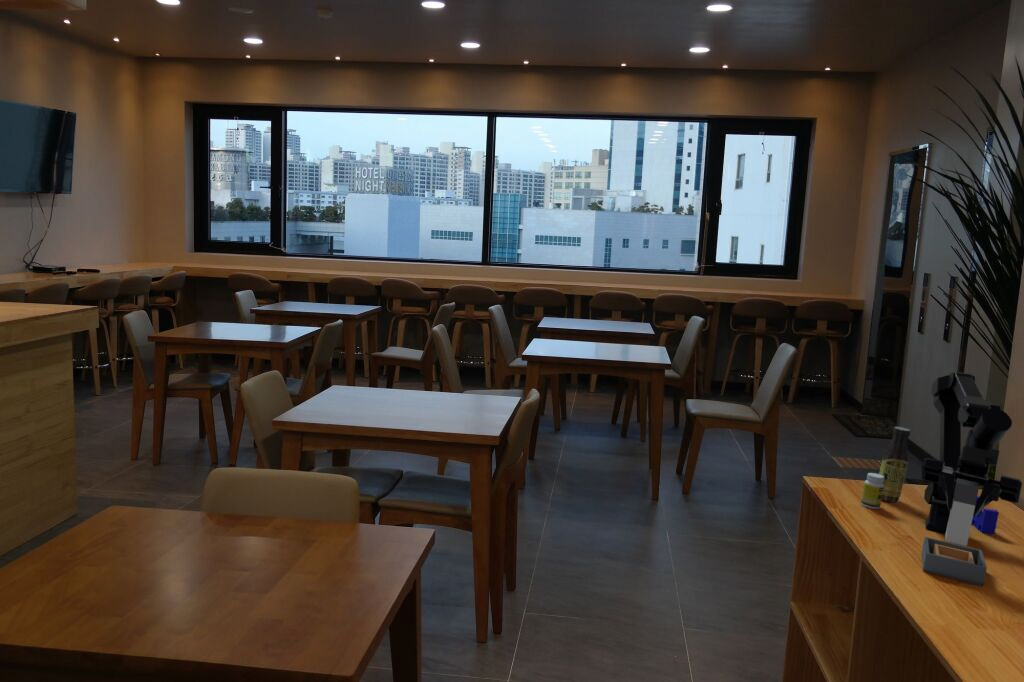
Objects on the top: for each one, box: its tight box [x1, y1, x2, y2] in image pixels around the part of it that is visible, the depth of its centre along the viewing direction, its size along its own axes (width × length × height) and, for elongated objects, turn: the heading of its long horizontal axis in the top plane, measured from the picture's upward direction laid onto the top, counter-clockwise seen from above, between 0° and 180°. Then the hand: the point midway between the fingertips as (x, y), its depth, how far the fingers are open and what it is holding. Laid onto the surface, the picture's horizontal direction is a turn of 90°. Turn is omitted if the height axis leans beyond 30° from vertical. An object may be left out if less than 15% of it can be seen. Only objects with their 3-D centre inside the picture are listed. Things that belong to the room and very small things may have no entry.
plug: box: [944, 478, 980, 547], centre depth 173 cm, size 4×4×13 cm
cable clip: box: [971, 495, 1000, 535], centre depth 207 cm, size 12×4×6 cm, turn 169°
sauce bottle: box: [878, 426, 911, 503], centre depth 219 cm, size 6×6×20 cm
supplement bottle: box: [860, 472, 884, 510], centre depth 212 cm, size 5×5×8 cm
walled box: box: [921, 536, 988, 587], centre depth 175 cm, size 11×11×4 cm
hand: (961, 512), depth 172 cm, fingers closed on plug, 4 cm apart
